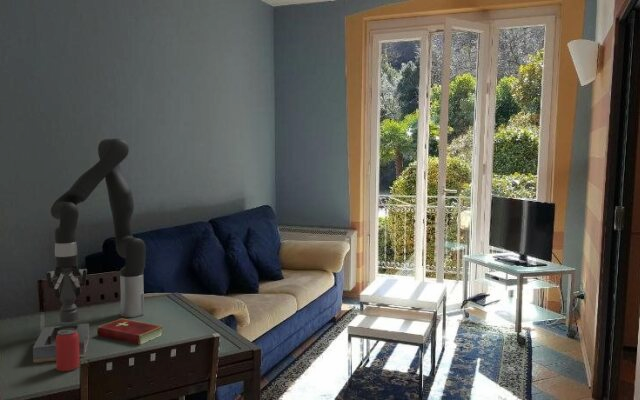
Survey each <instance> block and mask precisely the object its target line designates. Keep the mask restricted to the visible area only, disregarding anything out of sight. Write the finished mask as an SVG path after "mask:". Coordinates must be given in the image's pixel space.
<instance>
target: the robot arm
mask: <svg viewBox="0 0 640 400" xmlns="http://www.w3.org/2000/svg"><path fill="white" fill-rule="evenodd" d="M129 152H130V148H129V144H128V143H127V142H126V141H125V140H124V139H121V138H104V139H102V140H100V142H99V143H98V146H97V154H98V157H99V160H98V162H96V163H95V164H94V165H93V166H92V167H90V168H89V169H88V170H86V171H84V173H82V174H81V175H80V176H79V177H78V178H77V179H76V180H75V182H74V183H73V184H72V185H71V187H70V188H69V189H68V190H67V191H65V192H63V194H62V195H60V196H59V198H57V199H56V200H55V201H54V202H53V204H52V205H51V207H50V215H51V217H52V218H54V219H55V220H58V221H59V225H58V227H56V228H55V229H54V230H55V231H54V258H55V260H54V262H55V269H54V270H52V271H47V272H46V274H45V276H46V279H47V284H48V288H49V289H54V297H55V298H56V299H59V295H60V290H61V287H60V285H61V284H62V279H63V276H64V275H62V273H61V274H60V272H61V271H62V269H61V268H70V267H72V269H71V270H72V271H73V272H74V273H72V272H71V274H69V276H70V277H71V279H72V280H73V283H74V286H75V289H76V296H77V298H79V297H80V296H81V294H82V289H81V288H82V287H83V286H85V285H86V282H87V275H88V269H87V268H82V269H81V268H79V266H78V265H79V264H78V263H79V262H78V245H77V234H76V229H77V227H78V221H79V214H80V213H79V208H78V206H77V205H79V204H80V203H84V202H85V201H86V200H87V199H88V198H89V196H91V194H92V193H93V192H94V190H95V189H97V187H98V186H99V184H100V183H101V182H102V181H103V180H104V179H105V185H106V189H107V190H106V191H107V194H108V195H107V196H108V201H109V202H108V203H109V206H110V211H111V217H112V221H113V226H114V237H115V239H114V240H115V248H116V253H117V255H119V256H120V257H121V258H122V259H125V265H124V266H123V267H121V268H120V271H119V273H120V274H119V277H120V278H119V279H120V282H119V283H120V316H121V317H124V318H133V317H134V318H135V317H136V318H137V317H139V316H145V299H144V297H145V293H144V291H145V290H144V270H145V268H146V259H147V258H146V255H147V249H146V247H147V246H146V244H145V242H144V240H143V239H142V238H139V237H138V238H137V237H134V236H133V233H132V232H133V231H132V225H131V223H132V218H133V214H134V208H135V203H134V196H133V193H132V189H131V187H130V185H129V183H128V182H127V180H126V179H125V177H124V175H123V173H122V170H121V165H120V163H122V162H124V160H125V159H126V158H127V157H128V156H129ZM79 273H80V275H81V276H82V277H81V282H80V280H79V279H78V277H77V275H78V274H79ZM54 275H55V276H56V277H57V278H58V279H57V281H56V283H55V284H54V280H53V277H54ZM59 300H60V299H59Z"/></svg>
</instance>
